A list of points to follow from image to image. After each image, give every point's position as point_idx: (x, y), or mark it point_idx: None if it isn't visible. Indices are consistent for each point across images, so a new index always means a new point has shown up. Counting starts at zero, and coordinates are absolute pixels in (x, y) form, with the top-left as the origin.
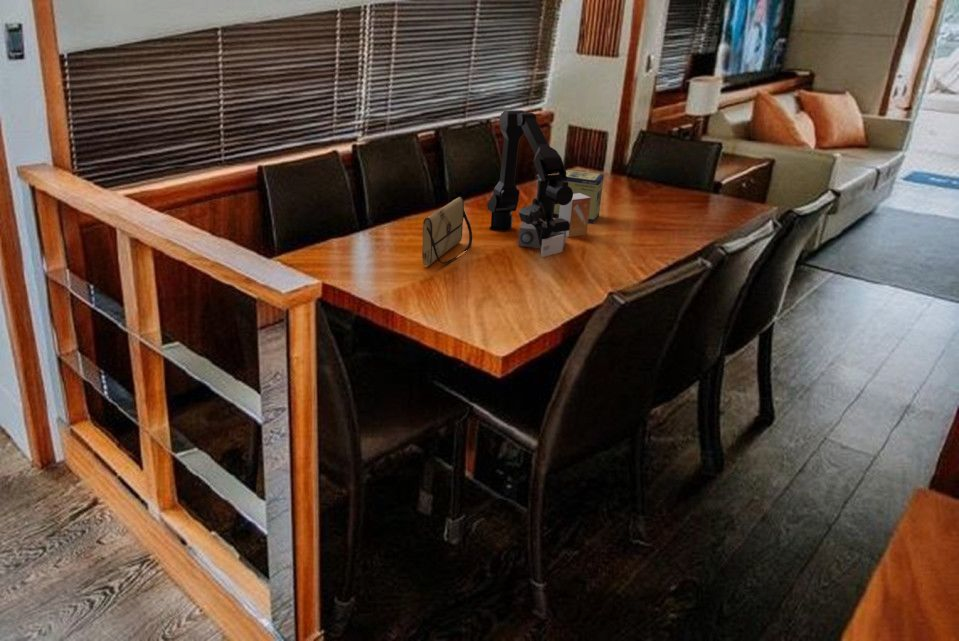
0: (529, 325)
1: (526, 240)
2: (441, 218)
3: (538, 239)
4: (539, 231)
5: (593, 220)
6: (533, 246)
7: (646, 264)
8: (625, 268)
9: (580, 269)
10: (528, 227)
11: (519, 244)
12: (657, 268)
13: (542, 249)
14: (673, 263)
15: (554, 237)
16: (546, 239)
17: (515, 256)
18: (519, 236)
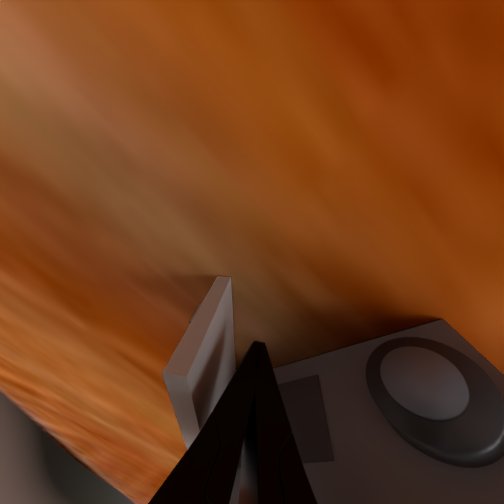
0: None
1: (405, 361)
2: None
3: (341, 403)
4: (257, 501)
5: None
6: (351, 351)
7: (53, 412)
8: (28, 371)
9: (26, 278)
10: None
11: (440, 328)
12: (24, 406)
13: (208, 305)
14: (53, 436)
15: (185, 443)
16: (168, 393)
17: (336, 146)
18: (500, 381)
